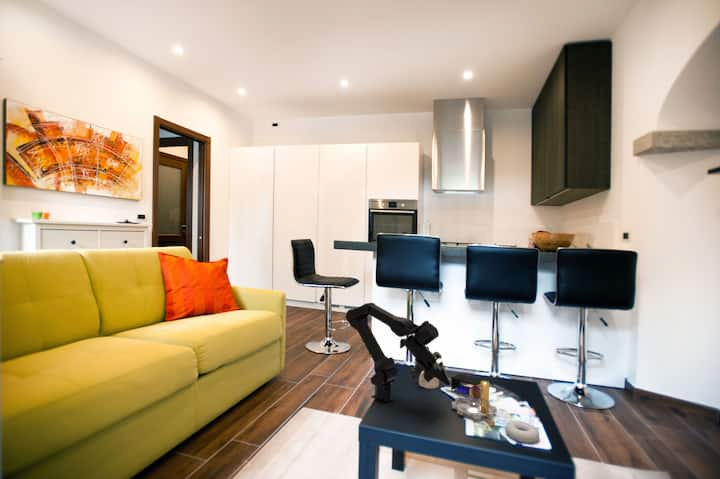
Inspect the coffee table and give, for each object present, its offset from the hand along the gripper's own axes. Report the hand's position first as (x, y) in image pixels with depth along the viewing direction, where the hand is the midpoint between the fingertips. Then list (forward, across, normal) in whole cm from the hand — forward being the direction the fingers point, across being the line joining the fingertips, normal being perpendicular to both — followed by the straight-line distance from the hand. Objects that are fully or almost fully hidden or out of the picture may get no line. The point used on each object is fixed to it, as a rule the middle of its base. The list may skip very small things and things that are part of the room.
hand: (449, 384), depth 129 cm
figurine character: (+12, -22, -4) cm, 25 cm away
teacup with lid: (+2, -26, -14) cm, 30 cm away
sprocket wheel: (+13, -5, 0) cm, 14 cm away
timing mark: (+18, +2, +2) cm, 18 cm away
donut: (+24, +7, +8) cm, 27 cm away
